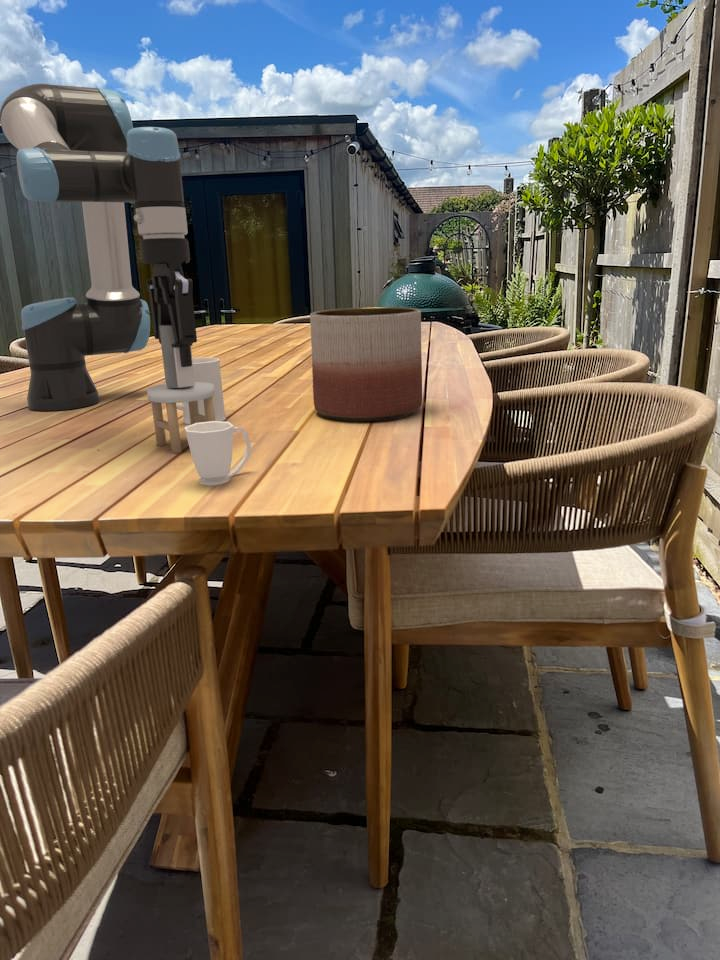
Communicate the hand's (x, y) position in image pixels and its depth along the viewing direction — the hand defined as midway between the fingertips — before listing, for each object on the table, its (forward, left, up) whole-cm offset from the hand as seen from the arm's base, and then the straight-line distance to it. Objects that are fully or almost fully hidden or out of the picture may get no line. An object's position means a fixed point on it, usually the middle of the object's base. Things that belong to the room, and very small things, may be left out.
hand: (180, 383), depth 115 cm
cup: (+22, -4, -11) cm, 25 cm away
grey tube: (0, 0, 0) cm, 0 cm away
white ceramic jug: (-16, +9, -11) cm, 21 cm away
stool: (0, 0, -11) cm, 11 cm away
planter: (+1, +39, -11) cm, 41 cm away
